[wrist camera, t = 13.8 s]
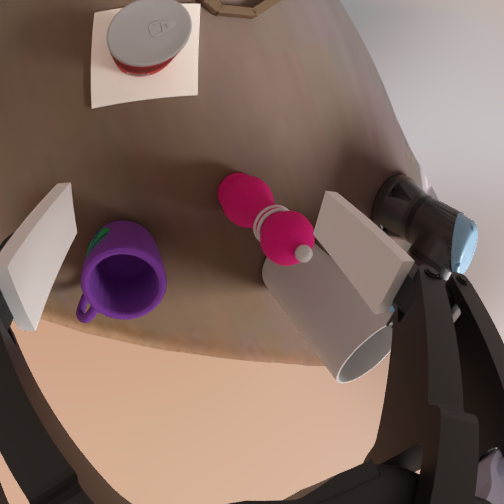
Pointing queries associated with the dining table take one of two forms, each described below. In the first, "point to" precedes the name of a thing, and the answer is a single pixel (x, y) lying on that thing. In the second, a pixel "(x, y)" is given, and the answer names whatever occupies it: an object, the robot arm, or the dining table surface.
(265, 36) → the dining table surface
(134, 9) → the canned food
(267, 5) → the wooden polygonal ring
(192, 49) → the coaster
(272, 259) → the pepper mill
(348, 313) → the cylinder vase
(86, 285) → the mug
